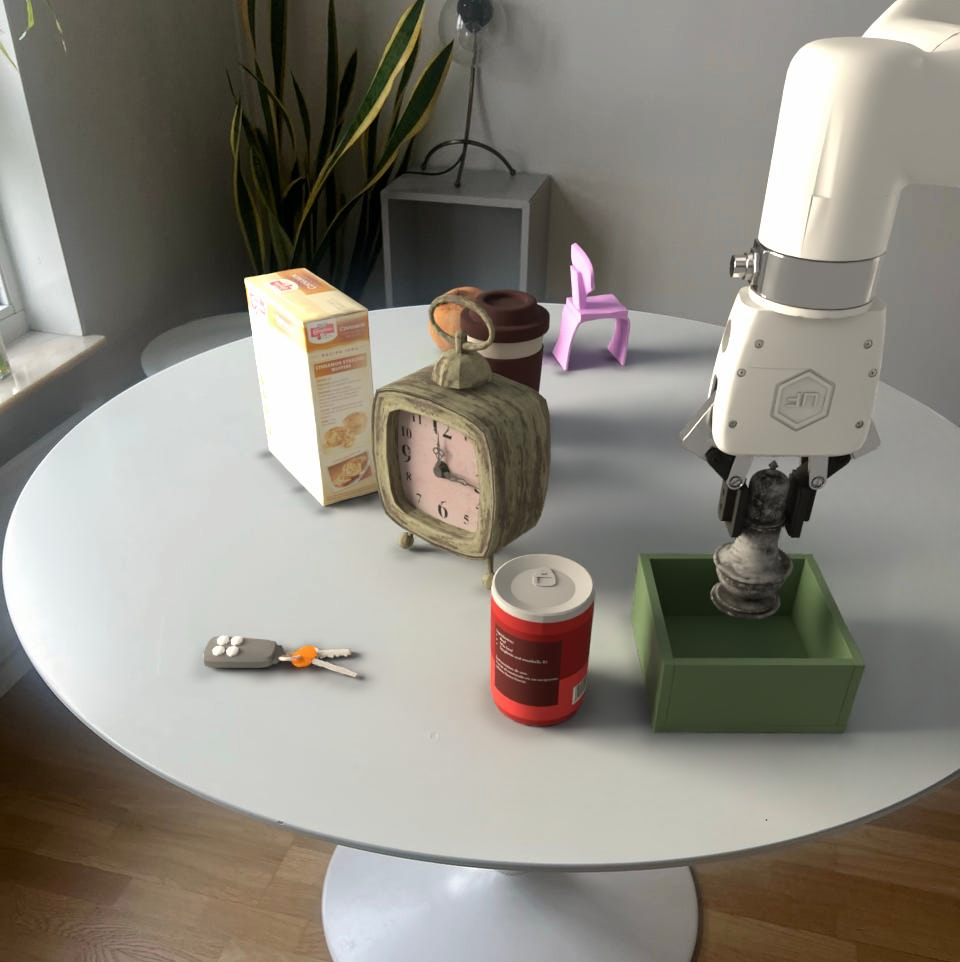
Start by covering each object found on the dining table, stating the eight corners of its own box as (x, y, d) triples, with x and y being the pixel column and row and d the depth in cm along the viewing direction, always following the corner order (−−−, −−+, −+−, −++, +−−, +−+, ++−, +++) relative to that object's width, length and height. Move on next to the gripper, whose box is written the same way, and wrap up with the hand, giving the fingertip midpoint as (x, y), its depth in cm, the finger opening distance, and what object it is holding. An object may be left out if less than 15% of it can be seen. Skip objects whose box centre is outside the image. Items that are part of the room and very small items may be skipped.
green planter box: (796, 617, 85) (812, 553, 81) (844, 733, 74) (866, 665, 70) (630, 617, 85) (638, 552, 81) (653, 732, 74) (664, 664, 70)
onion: (449, 383, 131) (423, 328, 123) (438, 340, 137) (411, 284, 128) (514, 357, 130) (492, 299, 122) (500, 314, 135) (478, 256, 127)
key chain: (201, 672, 79) (198, 658, 78) (214, 644, 82) (211, 630, 81) (357, 679, 79) (355, 665, 78) (364, 650, 82) (363, 637, 81)
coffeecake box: (383, 490, 103) (370, 308, 91) (322, 508, 100) (300, 322, 88) (324, 435, 113) (306, 264, 100) (267, 450, 110) (241, 276, 98)
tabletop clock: (379, 549, 94) (359, 290, 78) (441, 512, 99) (434, 263, 84) (495, 606, 87) (498, 333, 71) (554, 562, 92) (570, 300, 76)
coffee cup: (502, 400, 120) (504, 277, 111) (562, 425, 115) (569, 299, 105) (444, 425, 115) (441, 298, 105) (503, 453, 109) (505, 322, 100)
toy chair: (630, 368, 128) (642, 251, 119) (567, 373, 126) (574, 256, 117) (610, 344, 134) (620, 232, 125) (550, 350, 133) (555, 236, 123)
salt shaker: (691, 597, 75) (714, 459, 68) (736, 568, 78) (763, 433, 71) (754, 631, 72) (786, 490, 64) (799, 600, 75) (834, 461, 67)
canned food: (569, 657, 81) (577, 547, 74) (598, 721, 75) (610, 607, 68) (480, 669, 80) (480, 558, 73) (502, 736, 74) (505, 621, 67)
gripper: (690, 295, 57) (654, 556, 68) (973, 295, 57) (889, 557, 68) (670, 255, 62) (641, 501, 74) (927, 255, 62) (857, 502, 74)
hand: (760, 525), depth 71 cm, fingers closed on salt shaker, 3 cm apart
